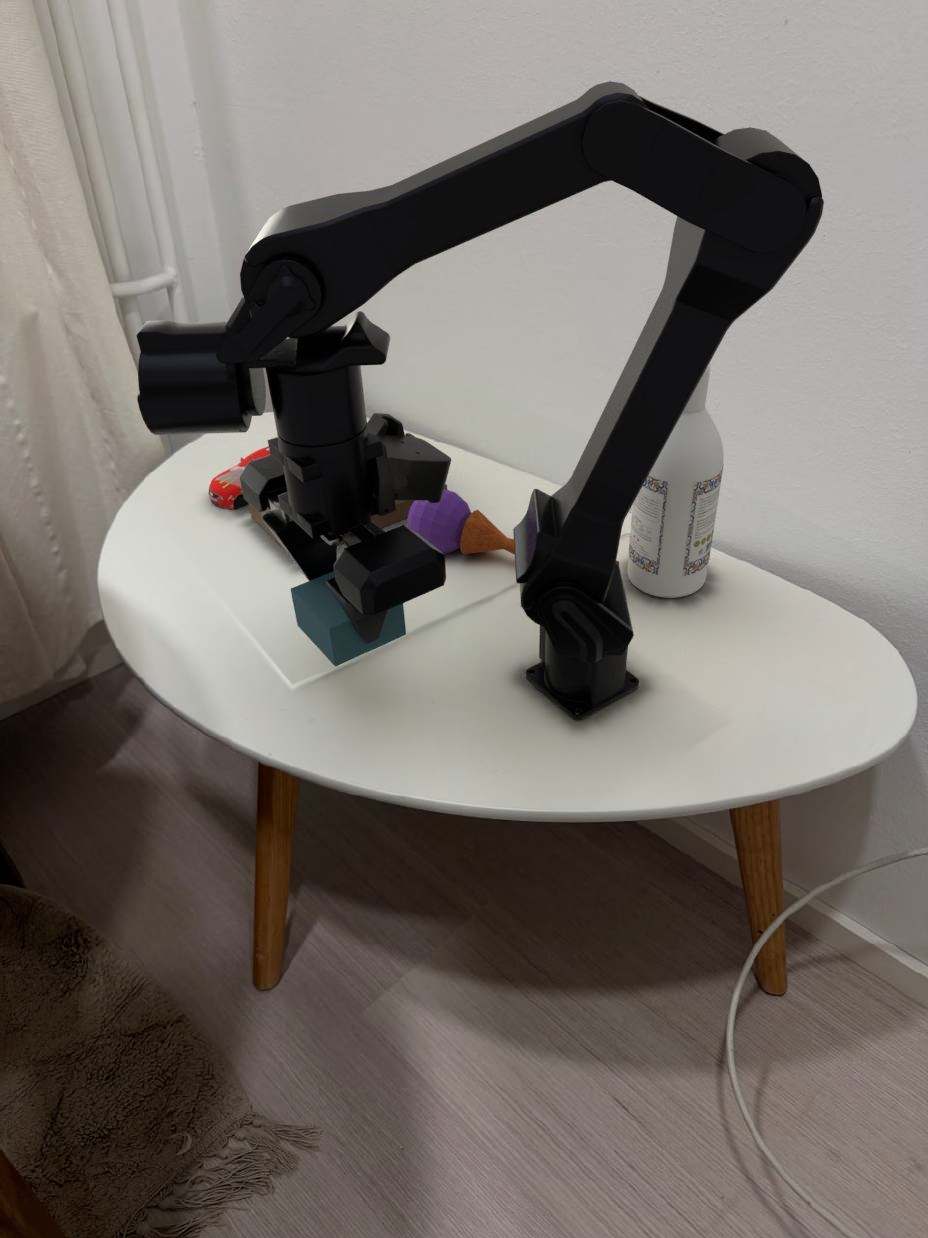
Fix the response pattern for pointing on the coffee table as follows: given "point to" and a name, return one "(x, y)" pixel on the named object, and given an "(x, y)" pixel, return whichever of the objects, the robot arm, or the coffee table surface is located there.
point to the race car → (232, 483)
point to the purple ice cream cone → (456, 526)
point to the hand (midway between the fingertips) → (350, 619)
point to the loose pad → (338, 622)
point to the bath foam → (678, 506)
